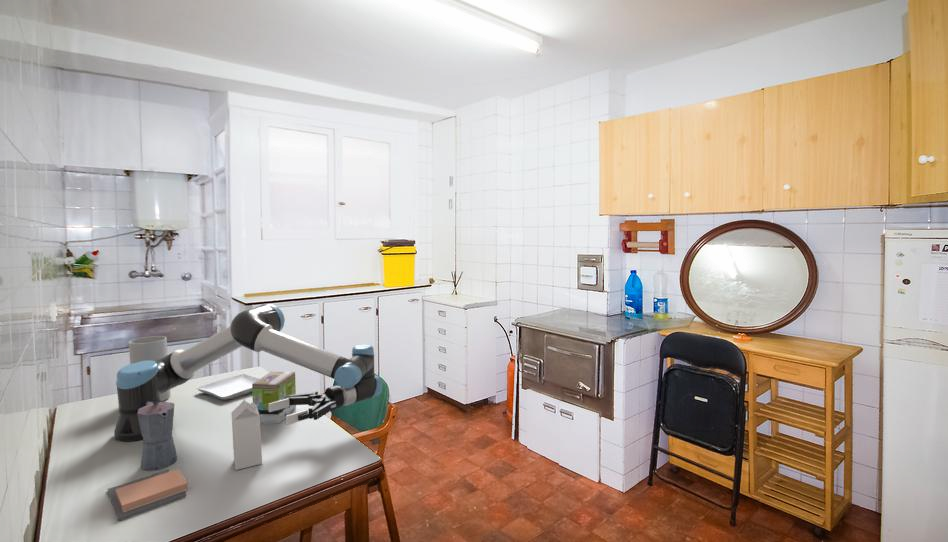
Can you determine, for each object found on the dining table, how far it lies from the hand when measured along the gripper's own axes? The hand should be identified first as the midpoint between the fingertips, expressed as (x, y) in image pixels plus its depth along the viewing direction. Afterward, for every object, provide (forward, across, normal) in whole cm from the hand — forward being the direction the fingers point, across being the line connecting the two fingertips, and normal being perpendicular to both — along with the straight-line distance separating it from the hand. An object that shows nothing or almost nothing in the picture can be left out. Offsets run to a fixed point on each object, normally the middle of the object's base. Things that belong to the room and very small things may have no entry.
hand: (277, 413), depth 144 cm
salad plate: (-8, +68, -13) cm, 70 cm away
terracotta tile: (+26, 0, -10) cm, 28 cm away
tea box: (-11, +29, -12) cm, 33 cm away
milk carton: (+9, 0, -12) cm, 16 cm away
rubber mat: (+34, +2, -12) cm, 36 cm away
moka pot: (+28, +19, -12) cm, 36 cm away
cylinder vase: (+19, +81, -12) cm, 84 cm away
